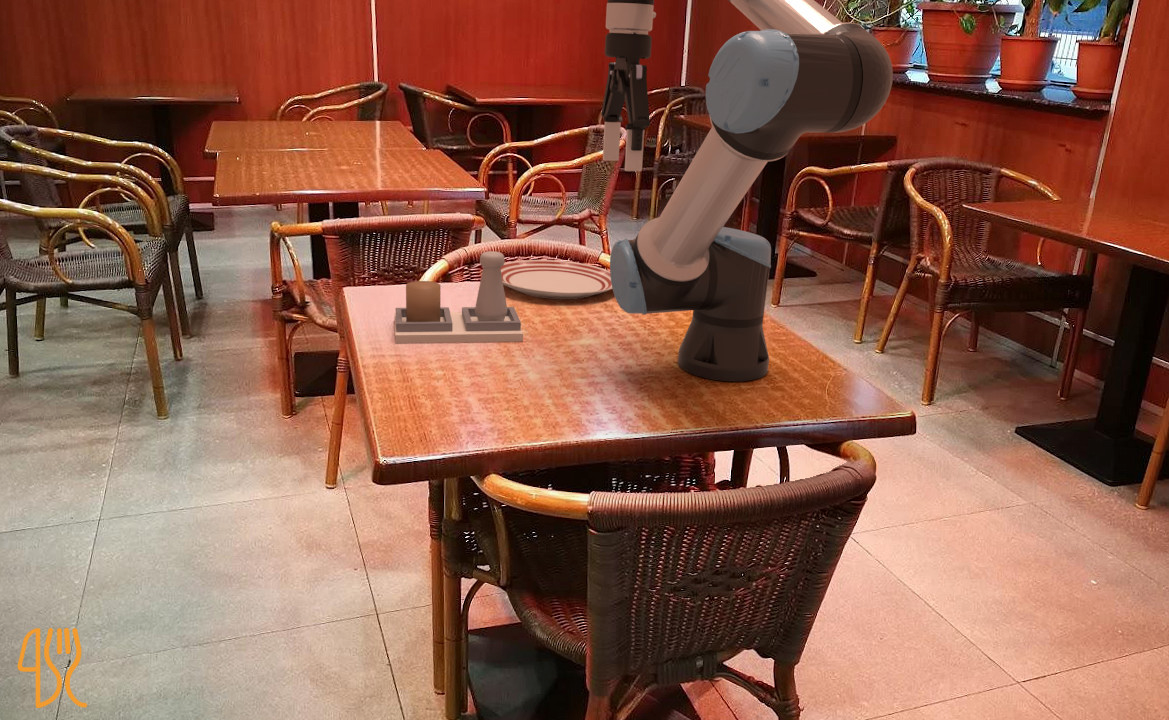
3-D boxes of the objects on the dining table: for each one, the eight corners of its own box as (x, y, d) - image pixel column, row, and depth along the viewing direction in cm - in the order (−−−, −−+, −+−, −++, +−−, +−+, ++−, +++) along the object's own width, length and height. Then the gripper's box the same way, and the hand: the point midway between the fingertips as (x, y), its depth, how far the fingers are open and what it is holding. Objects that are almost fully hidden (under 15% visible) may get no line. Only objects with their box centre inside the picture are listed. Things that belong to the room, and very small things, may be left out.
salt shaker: (470, 319, 172) (471, 249, 168) (500, 317, 175) (502, 248, 170) (480, 328, 167) (482, 257, 163) (511, 326, 170) (513, 255, 165)
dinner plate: (595, 270, 218) (596, 256, 217) (638, 303, 194) (639, 288, 193) (478, 274, 210) (478, 259, 209) (508, 309, 185) (508, 293, 184)
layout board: (522, 341, 167) (524, 295, 164) (395, 343, 162) (394, 295, 159) (513, 319, 179) (514, 275, 176) (394, 320, 174) (393, 275, 171)
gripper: (676, 33, 143) (666, 176, 149) (629, 33, 165) (622, 156, 172) (628, 31, 141) (620, 175, 147) (587, 31, 164) (582, 156, 170)
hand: (621, 165), depth 160 cm, fingers open, 13 cm apart
